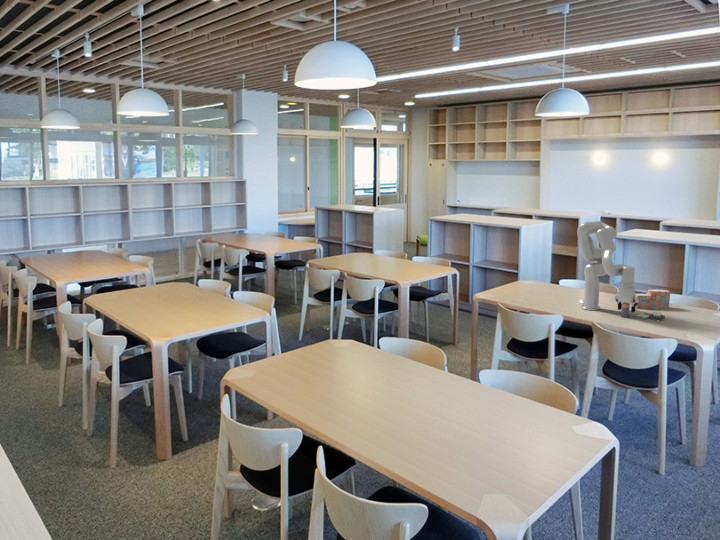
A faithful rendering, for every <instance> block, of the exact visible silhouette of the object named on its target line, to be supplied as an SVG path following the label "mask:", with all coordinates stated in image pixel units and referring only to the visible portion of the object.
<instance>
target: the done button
mask: <svg viewBox="0 0 720 540" xmlns="http://www.w3.org/2000/svg"><path fill="white" fill-rule="evenodd" d="M652 314H653V316H657V317H660V316H661V315H662V312H660V311H654V312H653V313H652Z"/></svg>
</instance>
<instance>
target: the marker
mask: <svg viewBox="0 0 720 540" xmlns="http://www.w3.org/2000/svg"><path fill="white" fill-rule="evenodd" d="M621 303H622V309H621V312H622V314H621V313H620V314H621V318H623V319H628V318H629V317H630V316H629V311H630V306H631V303H624V302H621Z"/></svg>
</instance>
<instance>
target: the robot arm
mask: <svg viewBox="0 0 720 540" xmlns="http://www.w3.org/2000/svg"><path fill="white" fill-rule="evenodd" d="M576 230H577V231H576V233H577V234H576V236H577V239H578V242H579V244H580V250H581V253H582V258H583V260H584V261H586V262H588V264H586V265H585V267H584V268H583V269H584V270H583V274H584V296H583V299H580V301H579V304H581V306H580V307H581V309H583V310H586V309H587V310H586V311H600V310H601V308H602V307H601V306H600V305H599V303H600V287H601V285H600V283H601V282H600V279H599V277H602V276H606V275H607V276H608V277H611V278H613V277H614V278H615V277H620V276H621V279H620V282H619V285H620V286H619V288H618V293H617V295H615V296H614V299H615V302H616V303H617V310H618V311H621V310H622V303H630V306H631V308H630V310H631V312H632V313H633V312H635V310H636V309H637V308H636V306H637V305H638V303H639V301H640V300H638V299H637V298H636V297H635V294H636V289H635V267H634V266H632V265H626V264H622V263H619V264H614V263H613V260H612V255H613V253H614V252H615V251H616V250H617V246H616V245H615V242H614V240H615V239H616V238H617V235H618V233H617V231H616V229H615V228H614V227H612V226H611V225H608V224H607V223H604V222H602V221H599V220H598V221H597V220H595V221H594V220H593V221H586V222H583V223H581V224H580V225H579V226H578V228H577V229H576ZM590 235H595V236H596V239H597V241H598V245H599V246H595V244H594V240H593V238H592V237H591V236H590ZM589 262H592V263H589ZM635 301H636V303H635Z"/></svg>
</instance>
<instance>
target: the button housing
mask: <svg viewBox="0 0 720 540" xmlns="http://www.w3.org/2000/svg"><path fill="white" fill-rule="evenodd" d="M651 314H652V315H649V318H648V319H649V320H652V319H653V320H654V321H657V320H660V321H663V319H664V320H666V319H665V318H666V315H663V314H661V316H660V317H657V316H653V313H651Z"/></svg>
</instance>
